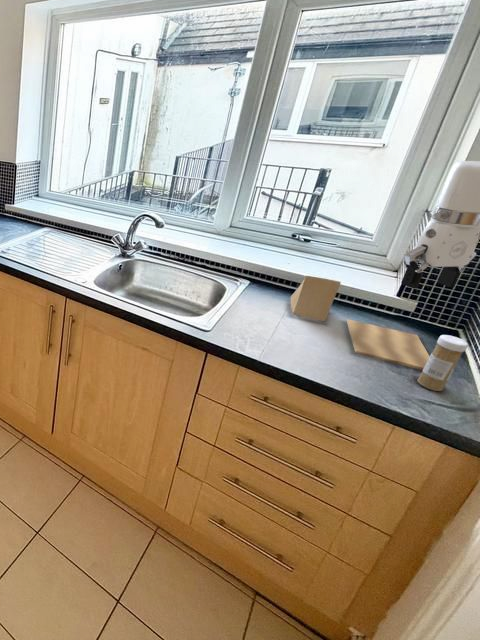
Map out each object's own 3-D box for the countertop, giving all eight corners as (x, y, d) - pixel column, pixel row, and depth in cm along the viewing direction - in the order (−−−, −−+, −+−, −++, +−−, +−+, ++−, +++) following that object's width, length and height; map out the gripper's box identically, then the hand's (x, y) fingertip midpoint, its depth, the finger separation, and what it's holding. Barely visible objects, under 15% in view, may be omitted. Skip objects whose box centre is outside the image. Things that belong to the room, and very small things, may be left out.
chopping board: (415, 339, 123) (417, 334, 123) (436, 376, 106) (438, 371, 106) (344, 323, 132) (346, 318, 131) (354, 355, 115) (355, 350, 115)
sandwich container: (319, 304, 143) (334, 264, 137) (324, 325, 131) (341, 282, 125) (288, 298, 147) (302, 258, 141) (291, 317, 135) (306, 275, 129)
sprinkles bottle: (447, 390, 101) (474, 343, 96) (433, 393, 100) (459, 346, 95) (424, 378, 105) (449, 332, 100) (411, 380, 104) (435, 335, 99)
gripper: (441, 221, 91) (411, 293, 97) (511, 220, 92) (477, 291, 98) (404, 213, 98) (378, 280, 104) (470, 212, 99) (441, 278, 105)
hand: (427, 285), depth 101 cm, fingers open, 9 cm apart
